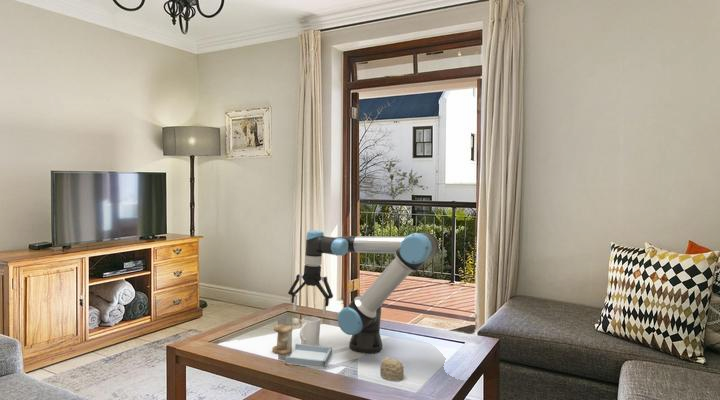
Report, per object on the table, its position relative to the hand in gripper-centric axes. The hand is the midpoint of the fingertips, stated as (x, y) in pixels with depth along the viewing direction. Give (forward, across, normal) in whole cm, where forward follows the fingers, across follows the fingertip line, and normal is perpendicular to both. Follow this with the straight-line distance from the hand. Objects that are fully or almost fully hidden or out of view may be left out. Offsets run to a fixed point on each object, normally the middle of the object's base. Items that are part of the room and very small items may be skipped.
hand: (309, 311), depth 202 cm
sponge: (+15, -39, +24) cm, 49 cm away
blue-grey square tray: (+15, -4, +16) cm, 23 cm away
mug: (+16, 0, 0) cm, 16 cm away
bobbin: (+15, +9, +10) cm, 20 cm away
